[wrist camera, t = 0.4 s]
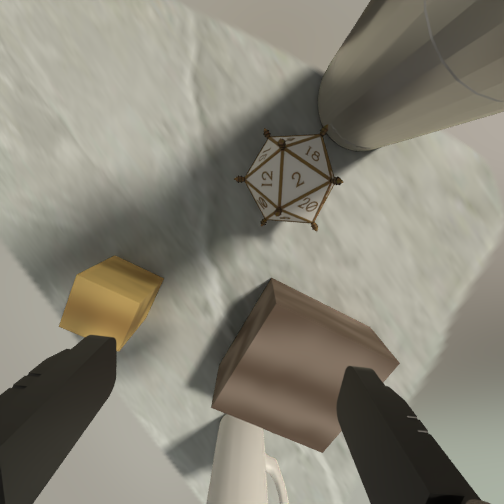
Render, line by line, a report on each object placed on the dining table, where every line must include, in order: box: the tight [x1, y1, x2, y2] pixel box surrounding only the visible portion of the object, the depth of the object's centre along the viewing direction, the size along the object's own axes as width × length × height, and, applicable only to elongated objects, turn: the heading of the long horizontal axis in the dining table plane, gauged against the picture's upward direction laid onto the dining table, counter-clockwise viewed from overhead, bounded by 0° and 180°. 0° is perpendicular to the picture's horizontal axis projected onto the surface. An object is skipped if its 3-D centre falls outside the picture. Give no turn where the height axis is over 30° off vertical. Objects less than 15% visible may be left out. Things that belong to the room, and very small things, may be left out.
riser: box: [211, 278, 400, 453], centre depth 27 cm, size 14×14×6 cm
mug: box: [206, 414, 289, 504], centre depth 28 cm, size 10×7×12 cm, turn 61°
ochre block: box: [59, 256, 164, 351], centre depth 25 cm, size 6×6×6 cm
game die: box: [234, 124, 343, 231], centre depth 20 cm, size 9×8×10 cm
